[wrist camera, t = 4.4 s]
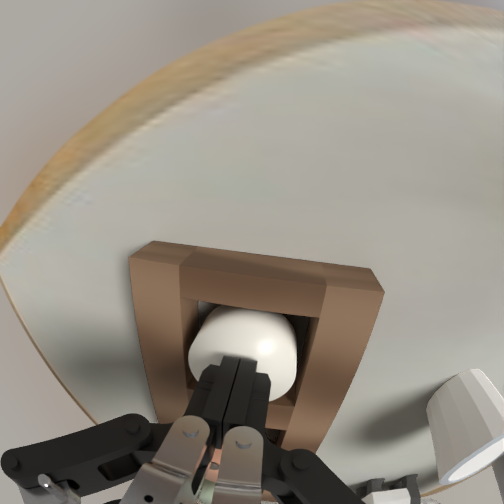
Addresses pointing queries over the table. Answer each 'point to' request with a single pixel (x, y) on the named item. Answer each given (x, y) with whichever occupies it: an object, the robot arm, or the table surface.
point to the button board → (259, 298)
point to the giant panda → (393, 492)
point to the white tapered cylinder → (466, 425)
